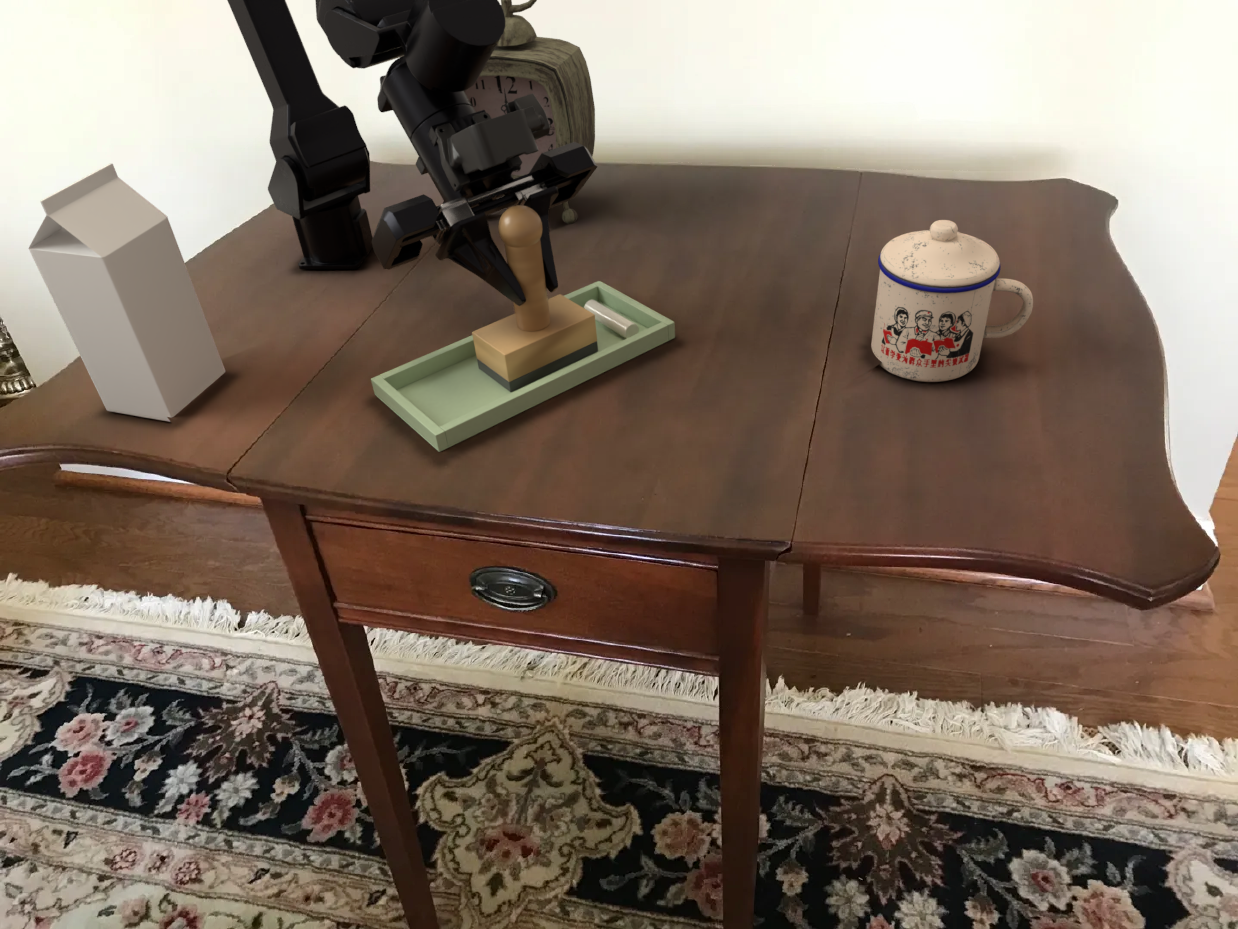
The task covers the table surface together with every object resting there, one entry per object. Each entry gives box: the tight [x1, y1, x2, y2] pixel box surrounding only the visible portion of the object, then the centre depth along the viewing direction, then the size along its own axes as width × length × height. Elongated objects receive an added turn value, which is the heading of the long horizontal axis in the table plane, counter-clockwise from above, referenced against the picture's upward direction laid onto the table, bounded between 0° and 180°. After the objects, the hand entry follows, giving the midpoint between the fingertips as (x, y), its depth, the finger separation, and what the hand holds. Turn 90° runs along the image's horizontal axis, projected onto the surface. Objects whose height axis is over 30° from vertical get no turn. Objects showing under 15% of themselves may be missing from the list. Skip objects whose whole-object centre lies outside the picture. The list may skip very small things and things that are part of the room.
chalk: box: [584, 300, 639, 339], centre depth 85 cm, size 6×2×2 cm
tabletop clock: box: [464, 0, 596, 225], centre depth 100 cm, size 14×9×25 cm, turn 73°
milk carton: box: [28, 163, 226, 423], centre depth 76 cm, size 7×7×19 cm
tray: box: [370, 280, 676, 453], centre depth 81 cm, size 24×11×2 cm, turn 128°
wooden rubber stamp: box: [471, 205, 598, 392], centre depth 77 cm, size 9×5×14 cm, turn 128°
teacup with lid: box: [870, 219, 1034, 383], centre depth 76 cm, size 12×9×12 cm
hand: (538, 296), depth 76 cm, fingers closed on wooden rubber stamp, 3 cm apart
